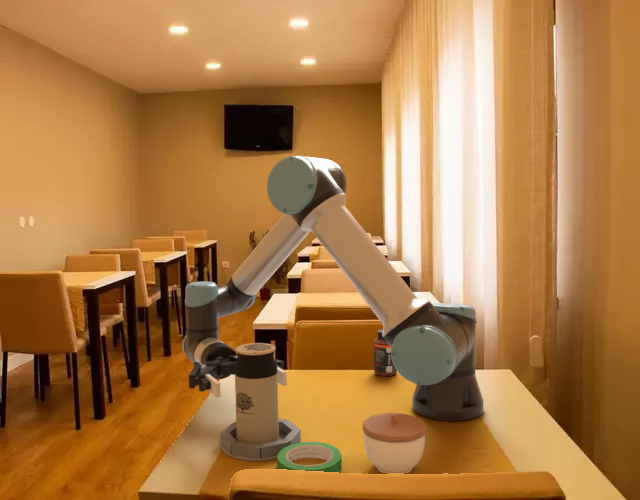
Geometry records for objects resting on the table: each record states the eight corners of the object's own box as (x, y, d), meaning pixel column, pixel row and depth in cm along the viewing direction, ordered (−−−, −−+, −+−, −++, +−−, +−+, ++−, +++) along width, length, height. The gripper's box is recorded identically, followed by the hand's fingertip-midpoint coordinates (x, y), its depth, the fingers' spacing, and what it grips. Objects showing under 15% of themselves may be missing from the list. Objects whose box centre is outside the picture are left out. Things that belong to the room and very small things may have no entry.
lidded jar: (417, 486, 98) (417, 430, 97) (354, 475, 102) (354, 421, 101) (431, 459, 108) (431, 407, 107) (373, 450, 112) (373, 400, 111)
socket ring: (311, 432, 121) (310, 421, 120) (284, 465, 106) (283, 452, 106) (241, 425, 125) (241, 413, 125) (206, 455, 111) (206, 442, 111)
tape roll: (322, 490, 98) (321, 474, 98) (265, 475, 103) (264, 460, 103) (352, 463, 108) (352, 448, 108) (298, 451, 113) (298, 437, 113)
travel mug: (263, 429, 122) (261, 340, 120) (287, 441, 116) (285, 347, 114) (228, 439, 117) (226, 347, 115) (251, 452, 111) (249, 355, 109)
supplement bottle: (396, 377, 156) (396, 333, 155) (372, 376, 157) (372, 333, 156) (397, 370, 161) (397, 328, 160) (375, 369, 163) (375, 327, 162)
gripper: (268, 366, 142) (310, 392, 123) (160, 383, 130) (189, 415, 112) (267, 335, 141) (310, 356, 123) (159, 349, 129) (187, 375, 111)
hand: (252, 384), depth 117 cm, fingers open, 13 cm apart
